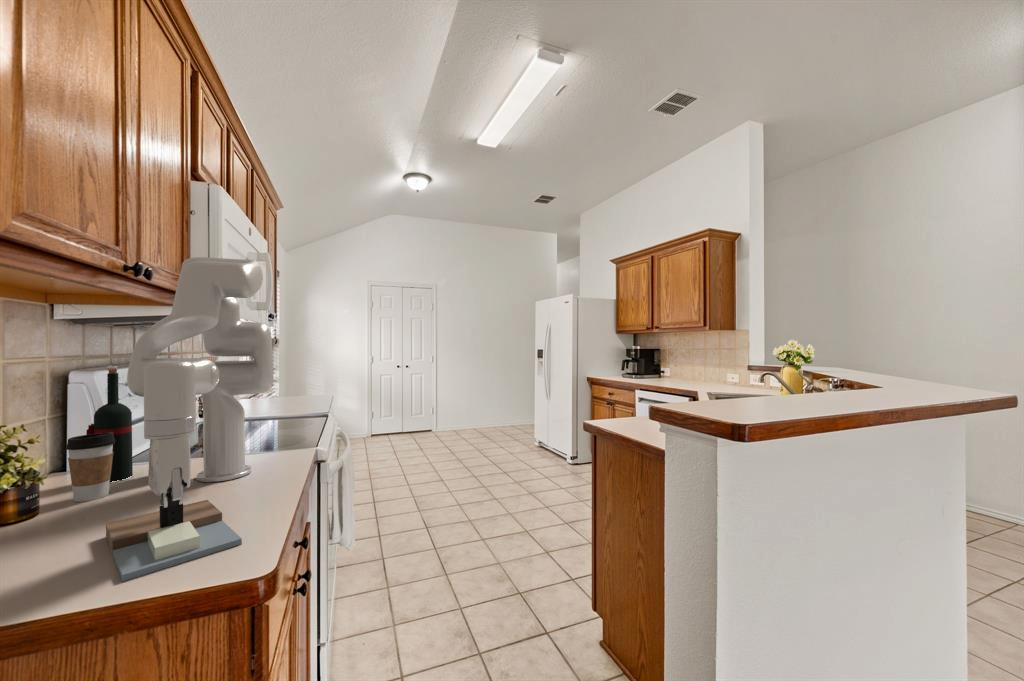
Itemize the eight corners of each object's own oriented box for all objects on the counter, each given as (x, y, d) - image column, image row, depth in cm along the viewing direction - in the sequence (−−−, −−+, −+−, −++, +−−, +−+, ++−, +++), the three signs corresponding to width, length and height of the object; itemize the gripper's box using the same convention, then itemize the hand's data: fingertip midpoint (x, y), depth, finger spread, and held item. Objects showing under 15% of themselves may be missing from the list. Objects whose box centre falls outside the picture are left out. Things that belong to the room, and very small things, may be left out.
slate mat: (112, 556, 73) (112, 550, 73) (222, 525, 85) (222, 520, 85) (122, 581, 65) (122, 575, 65) (241, 544, 77) (241, 538, 77)
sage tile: (147, 542, 76) (147, 531, 76) (189, 531, 80) (189, 521, 80) (154, 560, 69) (154, 548, 69) (199, 547, 74) (199, 535, 74)
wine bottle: (85, 479, 115) (85, 369, 116) (135, 473, 121) (134, 367, 121) (76, 488, 109) (76, 370, 109) (129, 480, 114) (129, 368, 115)
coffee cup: (99, 502, 99) (99, 437, 99) (55, 505, 97) (55, 439, 97) (124, 489, 107) (123, 430, 107) (83, 492, 105) (83, 432, 105)
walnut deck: (105, 536, 81) (105, 523, 81) (207, 511, 92) (207, 499, 92) (112, 555, 73) (112, 541, 73) (222, 525, 85) (222, 512, 85)
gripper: (137, 425, 81) (138, 521, 81) (151, 436, 71) (152, 546, 71) (186, 419, 87) (187, 509, 87) (205, 429, 77) (206, 531, 77)
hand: (171, 526), depth 79 cm, fingers closed
